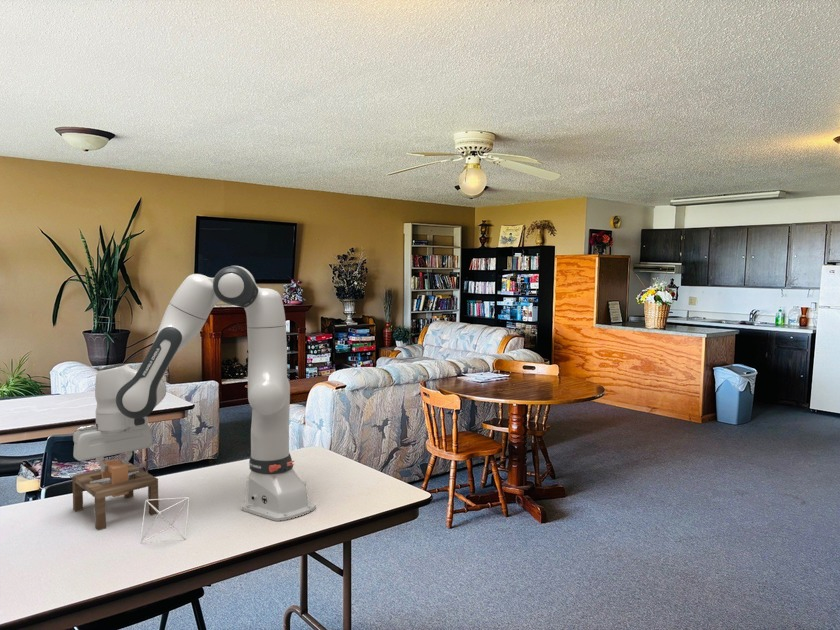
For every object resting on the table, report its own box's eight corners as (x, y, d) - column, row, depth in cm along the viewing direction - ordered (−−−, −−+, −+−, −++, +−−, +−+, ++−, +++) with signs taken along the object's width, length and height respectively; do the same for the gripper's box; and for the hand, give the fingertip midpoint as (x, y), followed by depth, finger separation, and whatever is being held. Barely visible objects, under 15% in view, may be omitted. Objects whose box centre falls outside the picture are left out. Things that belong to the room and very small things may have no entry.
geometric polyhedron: (199, 531, 158) (199, 498, 158) (169, 549, 148) (169, 513, 147) (161, 525, 162) (161, 492, 162) (130, 541, 152) (129, 506, 151)
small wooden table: (158, 513, 170) (158, 478, 169) (98, 530, 158) (97, 493, 158) (131, 495, 183) (130, 463, 183) (73, 509, 172) (72, 475, 171)
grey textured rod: (139, 476, 174) (139, 471, 174) (91, 488, 165) (91, 482, 165) (137, 475, 176) (137, 470, 175) (89, 486, 166) (89, 481, 166)
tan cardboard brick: (128, 493, 169) (128, 465, 168) (113, 497, 166) (113, 468, 165) (116, 485, 175) (115, 458, 174) (101, 489, 172) (101, 461, 172)
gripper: (76, 430, 159) (78, 480, 160) (154, 417, 174) (155, 463, 175) (69, 425, 164) (70, 475, 165) (145, 413, 179) (146, 459, 179)
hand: (114, 469), depth 170 cm, fingers closed on tan cardboard brick, 4 cm apart
